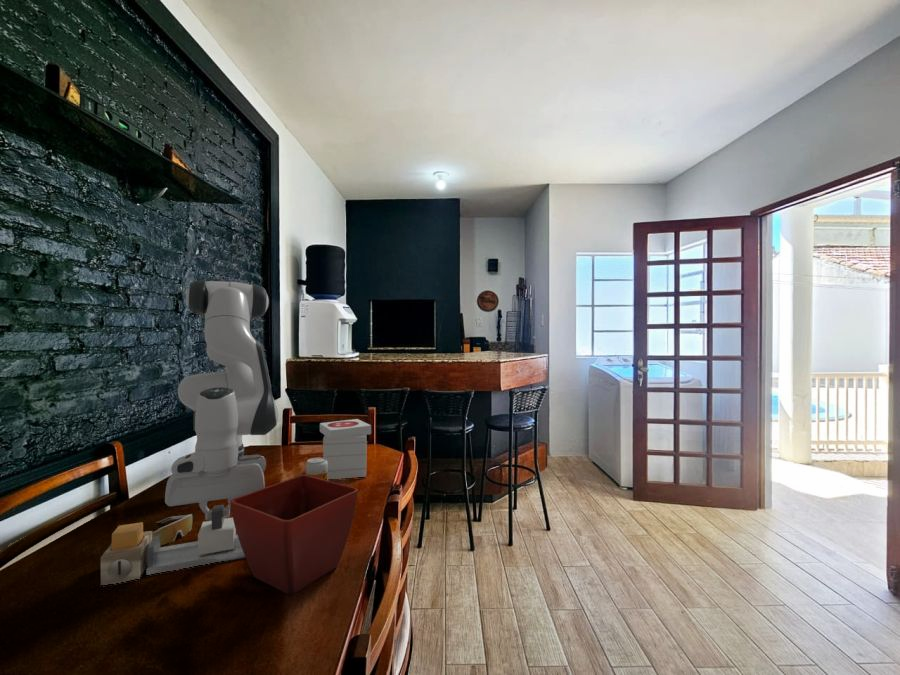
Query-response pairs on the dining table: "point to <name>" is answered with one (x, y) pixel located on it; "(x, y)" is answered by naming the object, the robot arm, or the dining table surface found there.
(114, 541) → the orange cube
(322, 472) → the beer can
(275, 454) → the dining table surface
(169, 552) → the rail
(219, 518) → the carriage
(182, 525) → the sunglasses
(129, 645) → the dining table surface
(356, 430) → the pizza boxes
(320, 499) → the plant pot
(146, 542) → the box
